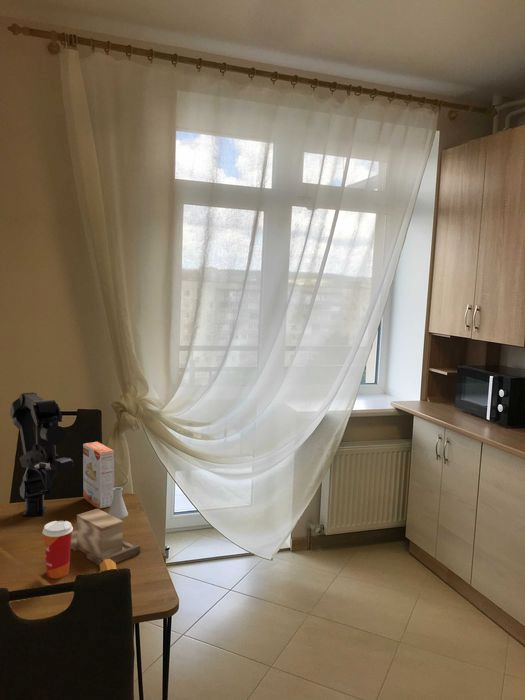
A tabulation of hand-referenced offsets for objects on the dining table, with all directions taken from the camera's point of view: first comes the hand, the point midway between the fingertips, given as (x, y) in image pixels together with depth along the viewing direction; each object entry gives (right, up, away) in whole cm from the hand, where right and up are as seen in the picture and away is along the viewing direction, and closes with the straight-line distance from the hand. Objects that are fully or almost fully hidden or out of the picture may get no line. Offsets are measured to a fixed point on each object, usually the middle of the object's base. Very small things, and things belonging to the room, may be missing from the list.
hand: (47, 488), depth 178 cm
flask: (+19, -13, +11) cm, 26 cm away
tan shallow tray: (+19, -15, -11) cm, 26 cm away
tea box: (+20, -14, -13) cm, 28 cm away
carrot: (+30, -18, -33) cm, 48 cm away
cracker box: (+9, -11, +23) cm, 27 cm away
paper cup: (+14, -17, -28) cm, 35 cm away
